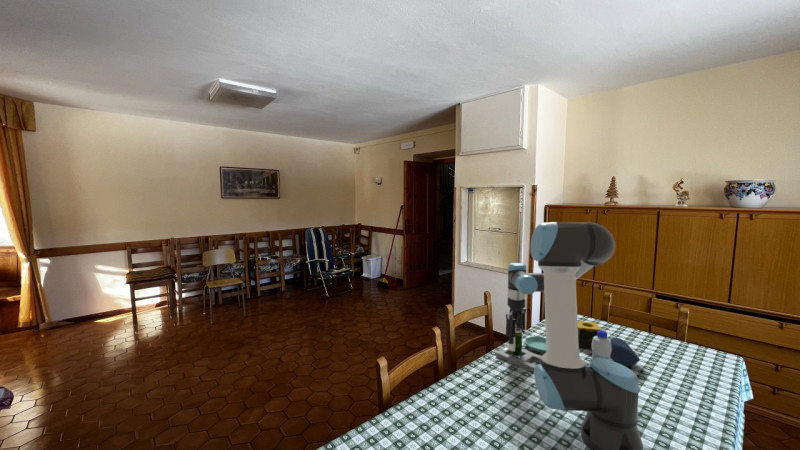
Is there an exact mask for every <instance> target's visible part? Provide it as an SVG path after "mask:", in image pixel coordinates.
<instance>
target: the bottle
mask: <svg viewBox="0 0 800 450" xmlns="http://www.w3.org/2000/svg"><path fill="white" fill-rule="evenodd" d="M610 339H611V338H608V332H606V331H605V330H603V329H601V330H599V331H598V332H597V336H594V337H593V340H592V349H591V350H592V355H591V360H593V359H595V358H600V359H606V360H610V361H611V358H610V354H611V350H612V347H611V340H610Z"/></svg>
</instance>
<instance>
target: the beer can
mask: <svg viewBox="0 0 800 450" xmlns="http://www.w3.org/2000/svg"><path fill="white" fill-rule="evenodd" d="M514 337H515V352H514V351H511V350H509V353H510V354H509V355H511V356H514V357H516V358H518V357H519V358H520V357H522V356H521V354H522V349H523V333H522V329H521V328H520V327H517V326H516V329H515V335H514Z"/></svg>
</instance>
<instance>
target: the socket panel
mask: <svg viewBox="0 0 800 450" xmlns="http://www.w3.org/2000/svg"><path fill="white" fill-rule="evenodd" d="M541 356H542V355H539V354H537V353H534V352H532V351H529V350H526V349H523V348H522V354H521V356H519V358H518V357H515V356H512V355H510V353H509V344H508V345H506V346H505V347H503V348H501V349H500V350H498V351H497V352H496V351H495V358H499V359H501V360H502V361H505V362H507V361H508V363H510V364H512V365H515V366H517V367H520V368H522V369H525V370H526V371H528V372H532V373H534V369H535V366H536V365H537V364H533V363H531V362H532V361H534V362H536V363H538V364H541Z"/></svg>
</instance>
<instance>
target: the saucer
mask: <svg viewBox="0 0 800 450" xmlns="http://www.w3.org/2000/svg"><path fill="white" fill-rule="evenodd" d="M524 342H525V344H526V345H527V347H528V348H530V350H532V351H534V352H537V353H539V354H540V353H541V354H545V353H546V337H541V336H529V337H527V338H525V339H524Z"/></svg>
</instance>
